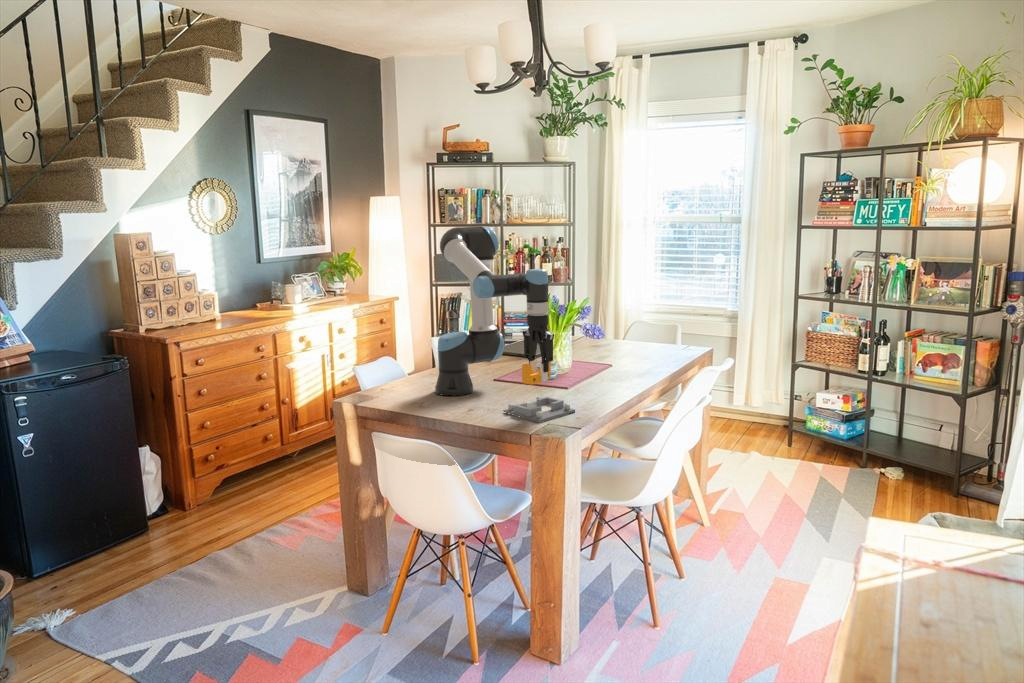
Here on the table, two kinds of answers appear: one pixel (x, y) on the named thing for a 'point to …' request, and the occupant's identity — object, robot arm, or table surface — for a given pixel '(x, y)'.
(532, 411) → the chassis
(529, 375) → the orange bracket
